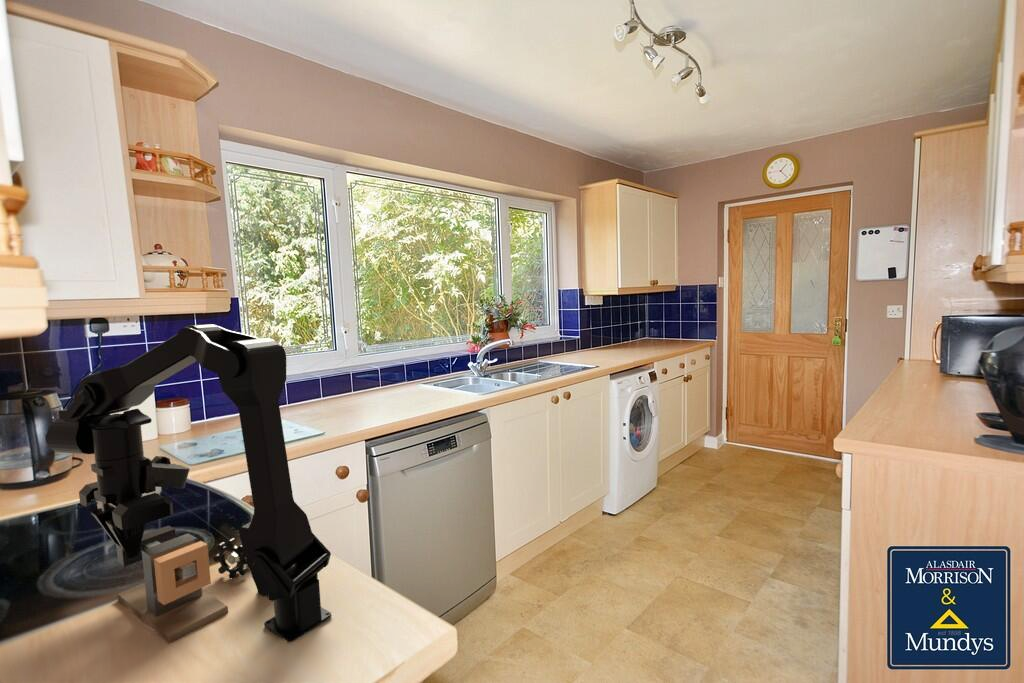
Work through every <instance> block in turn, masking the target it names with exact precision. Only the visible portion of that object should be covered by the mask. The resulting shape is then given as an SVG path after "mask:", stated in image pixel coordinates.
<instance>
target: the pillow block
mask: <svg viewBox="0 0 1024 683" xmlns="http://www.w3.org/2000/svg"><path fill="white" fill-rule="evenodd" d="M197 542H198V537H196V536H194V535H192V534H190V533H185V534H183V535H180V536H177V537H176V538H174V539H171V540H169V541H166V542H163V543H160V544H158V545H155V546H152V547H150V548H147V549H144V550H142V560H141V561H142V568H143V579H144V583H145V590H146V600H147V610H148V611H149V612H150V613H151V614H153V615H154V616H155V617H158V616H160V615H162V614H164V613H167V612H169V611H171V610H173V609H175V608H177V607H179V606H181V605H184V604H186V603H188V602H190V601H192V600H194V599H196V598H198V597H201V596H202V589H203V588H200V589H198V590H196V591H194V592H192V593H190V594H187V595H185V596H183V597H181V598H179V599H176V600H174V601H172V602H170V603H168V604H166V605H163V604H162V603H160V602H159V601H158V597H157V586H156V576H155V566H154V559H155V558H158V557H161V556H163V555H166V554H168V553H171V552H174V551H176V550H179V549H181V548H184V547H186V546H189V545H192V544H194V543H197ZM180 579H181V578H180V577H178V576H177V575H175V581H178V580H180Z"/></svg>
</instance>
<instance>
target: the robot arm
mask: <svg viewBox="0 0 1024 683" xmlns="http://www.w3.org/2000/svg"><path fill="white" fill-rule="evenodd" d="M196 362H197V363H198V365H199V366H200V367H201V368H203V369H205V370H208V371H209V372H212V373H215V374H217V377H218V381H219V382H220V386H221V389H222V392H223V394H225V395H226V396H227V397H228V398H229V400H230V401H231V402H232V403H233V404H234V405H235V406H236V408H237V410H238V416H239V422H240V428H241V435H242V440H243V446H244V447H243V449H244V454H245V460H246V465H247V466H246V467H247V472H248V481H249V485H250V486H249V487H250V491H251V497H252V503H253V513H252V514H253V515H252V518H251V520H250V521H249V522H248V523H246V524H244V525H243V526H241V527H239V533H238V534H239V539H240V543H241V544H242V551H243V552H242V558H245V557H246V562H247V565H246V566H247V567H248V569H249V572H250V575H251V577H252V579H253V581H254V583H255V587H256V589H257V593H258V592H259V594H260V595H261V596H260V595H259V596H260V597H266V598H267V599H268V601H273V610H274V616H273V617H272V618H269V619H268V620H266V621H265V622H264V623H263V624H264V628H265V629H267V630H269V631H270V632H272V633H274V634H275V635H276V636H278V637H280V638H281V639H283V640H284V641H285V642H287V643H291V642H294V641H296V640H297V639H299V638H301V637H302V636H304V635H305V634H307V633H308V632H311V630H313V629H315V628H317V627H318V626H320V625H321V624H322V623H324V622H326V621H328V620H329V619H331V618H332V612H331V611H329V610H328V609H325V608H324V607H322V606H321V605H322V604H321V603H322V602H321V590H320V579H319V577H318V573H319V572H321V571H322V570H323V569H324V568H326V567H327V566H329V564H330V559H331V554H332V553H331V552H330V550H329V549H328V548H327V547H326V546H325V545H324V543H322V542H321V540H319V538H318V537H317V536H316V535H315V534H314V532H312V531H313V530H312V527H311V524H310V521H309V518H308V515H307V514H306V512H305V511H304V510H303V509H302V508H301V507H300V506H299V505H298V504H297V503H296V501H295V500H294V496H293V488H292V483H291V482H292V481H291V475H290V468H289V467H290V466H289V462H288V461H289V460H288V455H287V449H286V441H285V436H284V430H283V429H284V428H283V421H282V414H281V409H280V401H279V400H280V397H281V395H282V393H283V390H284V387H285V385H286V382H287V353H286V351H285V348H284V347H283V345H282V344H279V342H278V341H276V340H275V339H273V338H270V337H261V338H260V337H258V336H255V335H254V336H253V335H249V334H246V333H242V332H238V331H234V330H230V329H227V328H225V327H222V326H219V325H217V324H213V323H208V324H207V323H206V324H205V323H204V324H192V325H191V324H190V325H187V326H184V327H183V328H181V329H179V331H178V332H177V333H176V334H174V335H173V336H171V337H170V338H168V339H166V340H164V341H162V342H161V343H159V344H158V345H156V346H155V347H153V348H151V349H149V350H148V351H146V352H145V353H143V354H141V355H139V356H138V357H136V358H135V359H133V360H131V361H129V362H128V363H126V364H123V365H120V366H116V367H113V368H108V369H105V370H101V371H97V372H95V373H92V374H88V375H86V376H84V377H83V378H81V380H80V382H79V383H78V387H77V389H76V391H75V394H74V395H73V398H72V400H71V402H70V404H69V406H68V408H65V409H61V410H60V409H59V410H58V418H57V419H55V420H54V421H53V422H52V423H51V424H50V425H49V426H48V429H47V433H46V434H45V436H44V438H45V442H46V445H47V447H48V448H50V449H51V450H52V451H53V452H56V453H60V454H61V453H63V454H79V455H81V454H82V455H94V463H92V464H90V467H91V469H90V470H91V472H93V473H94V474H96V481H95V482H90V483H87V484H85V485H84V486H83V487H82V488H81V489H80V490H79V491H78V496H79V497H78V498H79V504H80V505H82V506H84V507H86V508H87V507H90V506H91V504H92V501H94V502H96V506H97V508H96V509H93V510H91V511H90V514H91V515H92V516H93V517H94V519H95V520H96V521H97V523H99V525H100V526H101V528H102V529H103V530H104V531H105V533H106V534H107V535H108V536H109V538H110V540H112V543H114V545H115V546H116V543H119V544H120V546H121V547H122V549H123V550H124V552H125V553H126V555H127V556H128V558H130V559H131V558H134V557H136V556H138V554H139V550H140V546H141V542H142V538H143V534H145V530H146V527H147V524H149V523H151V522H155V521H158V520H162V519H163V518H164V519H165V518H167V517H170V516H171V515H173V514H174V506H173V500H171V499H170V498H167V497H166V496H163V495H160V494H159V493H156V491H157V490H156V489H157V488H175V489H177V490H178V489H179V490H181V489H182V490H183V489H185V486H186V483H187V479H188V476H189V473H190V468H189V467H187V466H184V465H182V464H176V463H171V459H170V457H168V456H164V455H156V456H154V457H153V458H152V459H150V458H149V457H146V456H145V452H144V445H143V433H142V426H143V425H146V424H151V423H152V418H151V417H150V416H149V415H147V414H145V413H143V412H142V411H141V410H140V409H139V408H134V409H131V408H133V407H137V406H140V405H142V404H143V403H145V401H146V400H147V399H149V398H150V397H151V396H152V395H153V394H154V392H155V387H156V386H157V385H158V384H160V383H161V382H163V381H165V380H166V379H168V378H170V377H171V376H173V375H175V374H176V373H179V372H180V371H182V370H184V369H185V368H188V367H189V366H191V365H192V364H195V363H196ZM144 494H146V495H144Z"/></svg>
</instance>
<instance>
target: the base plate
mask: <svg viewBox="0 0 1024 683" xmlns="http://www.w3.org/2000/svg"><path fill="white" fill-rule="evenodd" d="M117 600H118V601H119V602H120V603H121V604H122V605H123V606H124V607H125V608H127V609H128V610H129V609H130V610H129V611H130V612H132V613H133V614H134V615H135V616H136V615H137V616H138V617H137V616H136V617H137V618H139V619H140V620H141V621H142V622H143V623H144V624H146V626H148V628H150V629H151V630H153V631H154V632H155V633H156V634H157V635H158V636H160V637H161V638H162V639H163V640H164V641H165V642H166V643H168V644H170V643H172V642H174V641H175V640H177V639H180V638H182V637H183V636H186V635H187V634H189V633H191V632H193V631H195V630H197V629H198V628H200V627H202V626H204V625H206V624H209V623H211V622H212V621H214V620H216V619H218V618H219V617H222V616H224V615H226V614H228V613H229V609H228V607H229V606H228V605H227V604H225V602H222V601H221V600H219V599H218V598H217V597H215V596H213V595H212V594H210V593H209V592H207V591H206V590H204V589H203V588H202V596H201V597H198V598H196V599H194V600H192V601H190V602H188V603H186V604H184V605H181V606H179V607H177V608H175V609H173V610H171V611H169V612H167V613H164V614H162V615H160V616H158V617H155V616H154V615H153V614H151V613H150V612H149V611H148V610H147V600H146V590H145V582H143V583H140V584H138V585H136V586H133V587H131V588H128V589H126V590H123V591H120V592H119V593H117Z"/></svg>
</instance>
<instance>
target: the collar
mask: <svg viewBox="0 0 1024 683" xmlns="http://www.w3.org/2000/svg"><path fill="white" fill-rule="evenodd" d="M208 547H209V545H208V543H206V542H204V541H202V540H199V541H197V543H194V544H192V545H189V546H186V547H184V548H181V549H179V550H176V551H174V552H171V553H168V554H166V555H163V556H161V557H158V558H155V559H154V566H155V576H156V586H157V597H158V601H159V602H160V603H162V604H163V605H166V604H168V603H170V602H172V601H174V600H176V599H179V598H181V597H183V596H185V595H187V594H190V593H192V592H194V591H196V590H198V589H200V588H202V589H203V588H204V587H207V586H209V585H211V583H212V582H211V571H210V559H209V548H208ZM190 562H193V563H195V569H196V575H194V576H191V577H189V578H187V579H184V580H183V579H180V580H178V581H175V571H174V569H175V568H178V567H180V566H183V565H185V564H187V563H190Z"/></svg>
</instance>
